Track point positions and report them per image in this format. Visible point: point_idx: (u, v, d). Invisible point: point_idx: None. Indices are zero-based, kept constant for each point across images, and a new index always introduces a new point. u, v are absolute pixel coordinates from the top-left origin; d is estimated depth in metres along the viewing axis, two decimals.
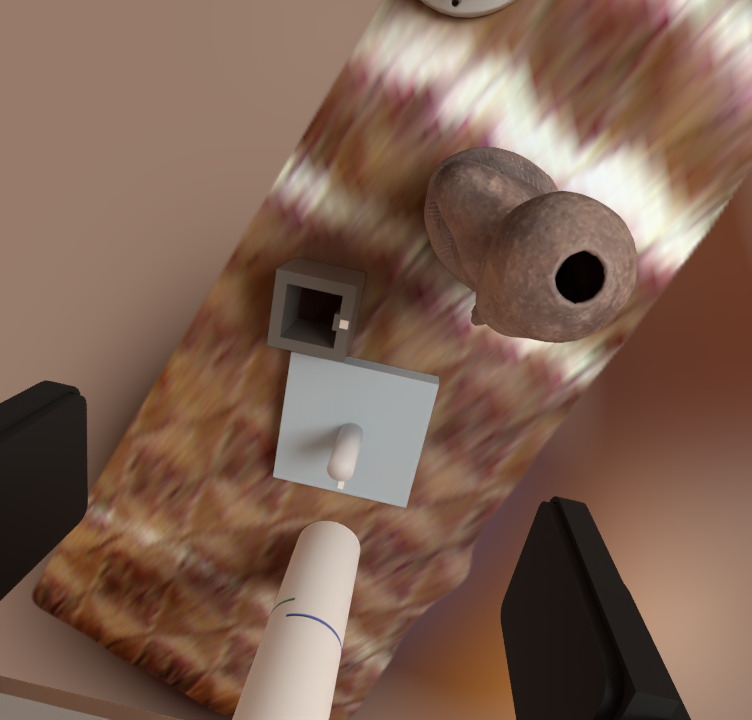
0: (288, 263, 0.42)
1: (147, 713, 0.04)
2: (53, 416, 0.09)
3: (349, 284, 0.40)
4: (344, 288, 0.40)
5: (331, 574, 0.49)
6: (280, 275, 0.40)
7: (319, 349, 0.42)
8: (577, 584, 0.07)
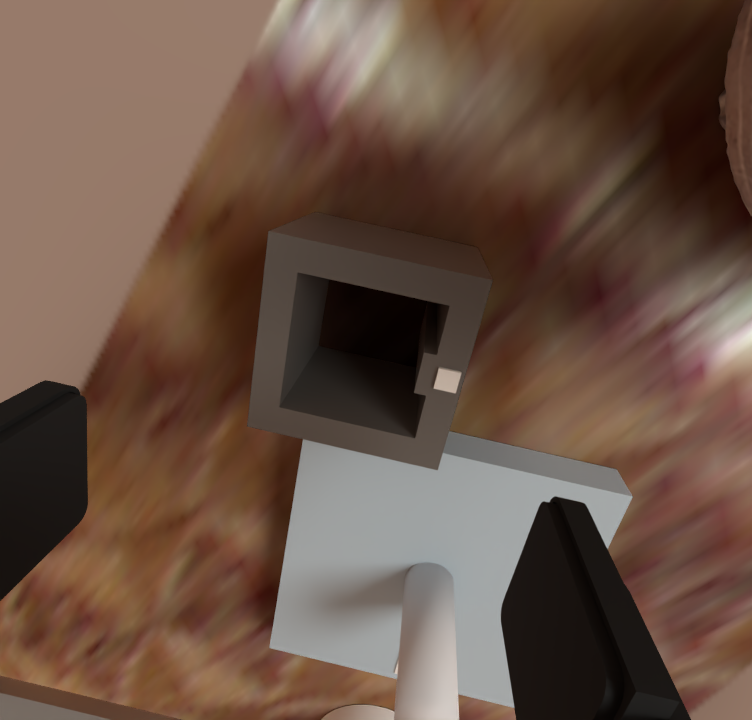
0: (299, 221, 0.17)
1: (147, 713, 0.04)
2: (53, 416, 0.09)
3: (469, 274, 0.14)
4: (454, 286, 0.14)
5: None
6: (279, 250, 0.15)
7: (380, 438, 0.17)
8: (577, 584, 0.07)
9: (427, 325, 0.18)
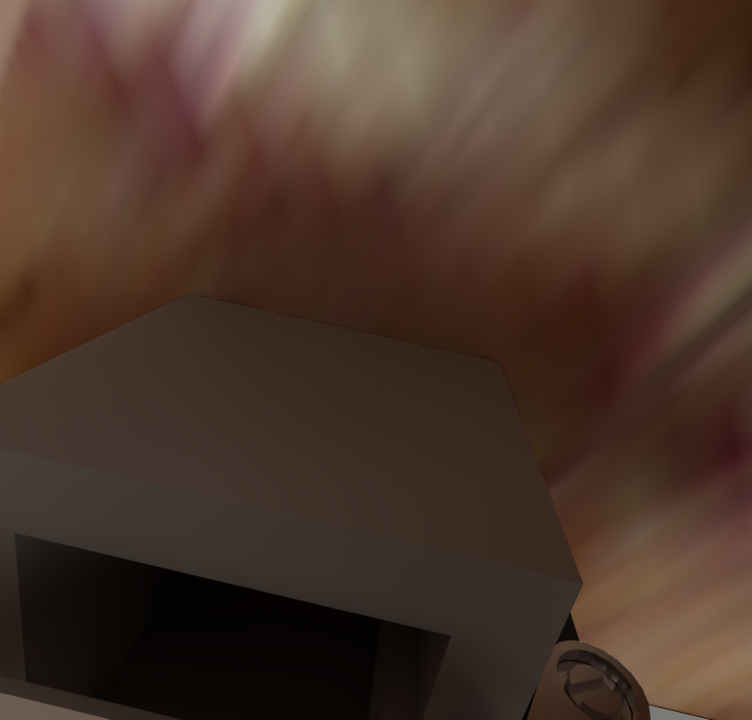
0: (105, 342, 0.07)
1: (147, 712, 0.04)
2: None
3: (507, 553, 0.05)
4: (465, 590, 0.05)
5: None
6: None
7: None
8: None
9: None
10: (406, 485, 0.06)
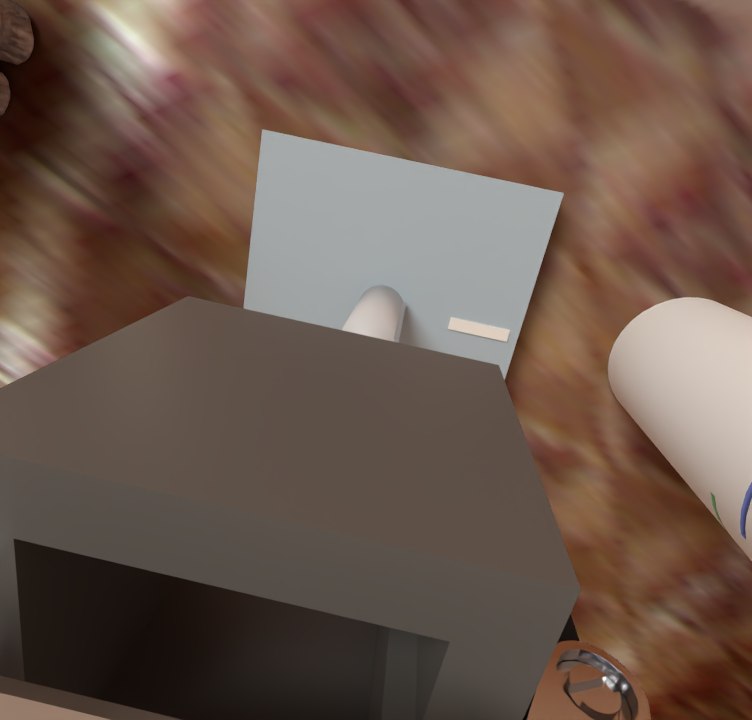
0: (104, 346, 0.07)
1: (147, 712, 0.04)
2: None
3: (506, 559, 0.05)
4: (464, 596, 0.05)
5: (689, 381, 0.20)
6: None
7: None
8: None
9: None
10: (405, 490, 0.06)
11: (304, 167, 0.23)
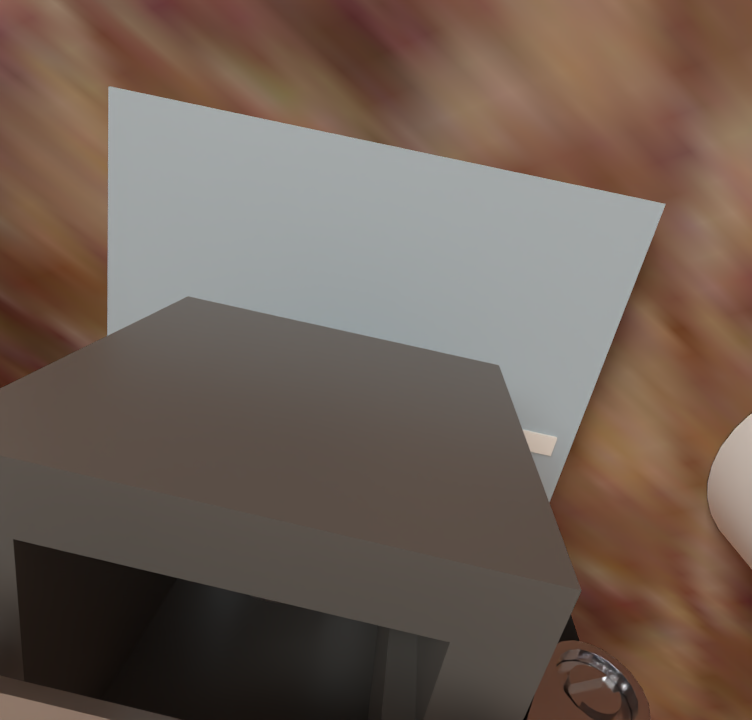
0: (104, 347, 0.07)
1: (147, 712, 0.04)
2: None
3: (506, 560, 0.05)
4: (464, 596, 0.05)
5: None
6: None
7: None
8: None
9: None
10: (405, 491, 0.06)
11: (190, 156, 0.13)
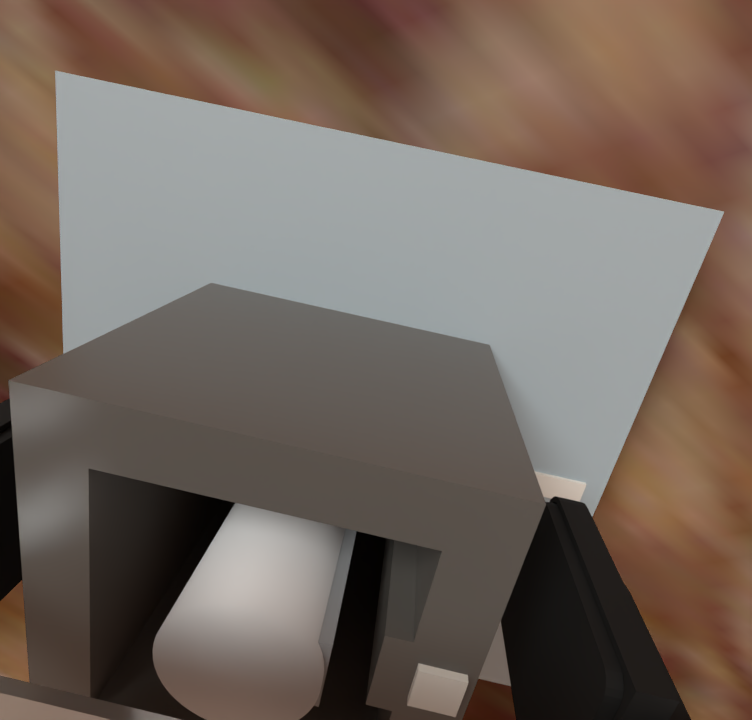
0: (147, 321, 0.09)
1: (147, 712, 0.04)
2: None
3: (487, 483, 0.06)
4: (454, 512, 0.06)
5: None
6: (40, 421, 0.06)
7: None
8: (577, 584, 0.07)
9: None
10: (406, 434, 0.07)
11: (153, 155, 0.11)
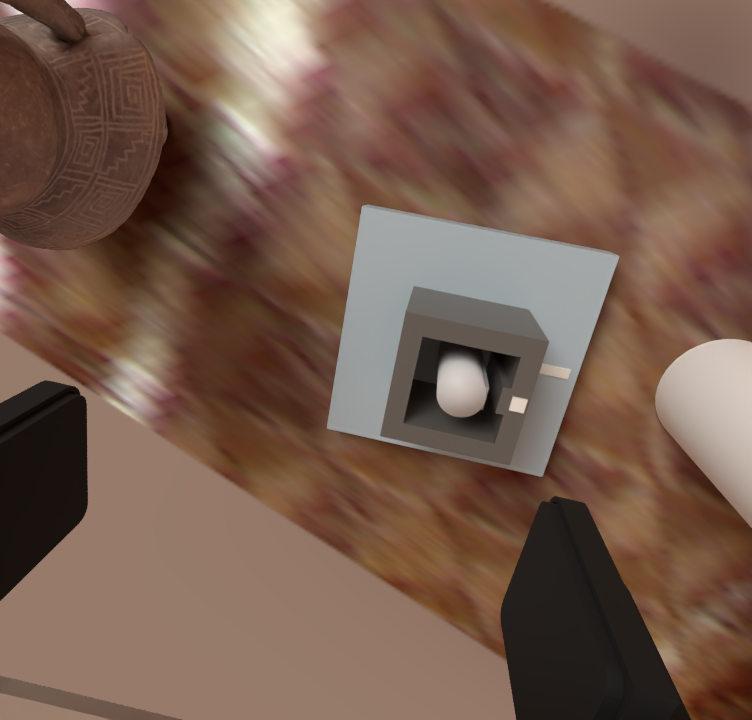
0: (414, 299, 0.26)
1: (147, 712, 0.04)
2: (53, 416, 0.09)
3: (533, 337, 0.23)
4: (524, 345, 0.23)
5: (732, 419, 0.23)
6: (411, 323, 0.23)
7: (470, 444, 0.25)
8: (577, 584, 0.07)
9: (498, 366, 0.26)
10: (508, 328, 0.24)
11: (396, 236, 0.28)
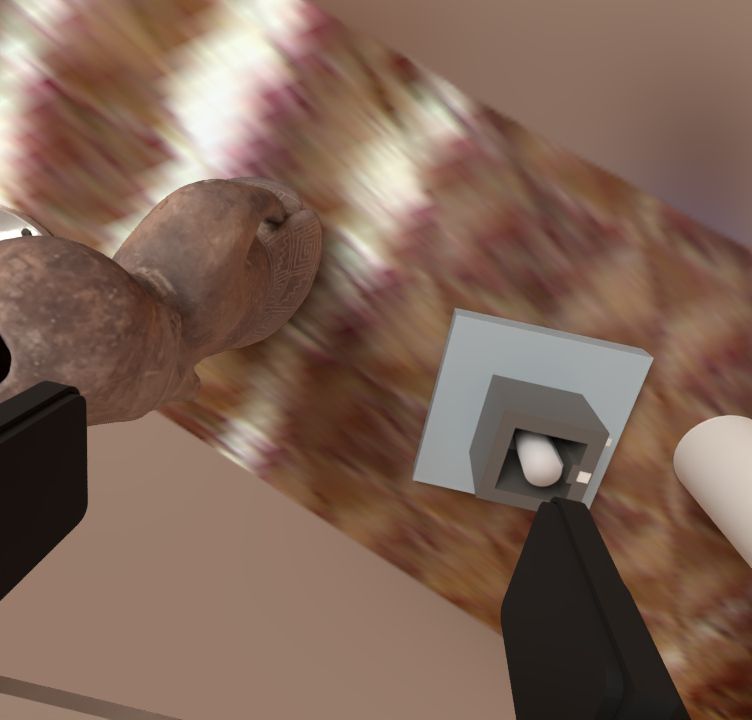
0: (501, 392, 0.34)
1: (148, 712, 0.04)
2: (53, 416, 0.09)
3: (597, 430, 0.31)
4: (591, 436, 0.31)
5: (739, 488, 0.32)
6: (508, 418, 0.31)
7: None
8: (577, 584, 0.07)
9: (563, 442, 0.34)
10: (578, 420, 0.32)
11: (482, 337, 0.36)
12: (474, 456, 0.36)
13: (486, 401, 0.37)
